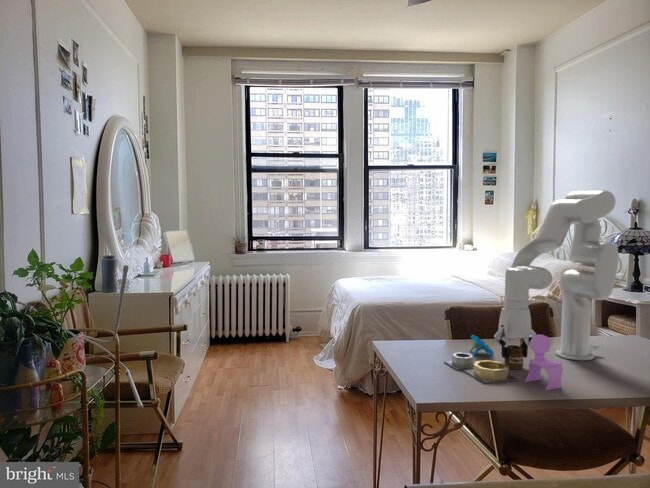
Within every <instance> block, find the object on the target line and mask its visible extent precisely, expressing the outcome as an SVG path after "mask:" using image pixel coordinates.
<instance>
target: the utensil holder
mask: <svg viewBox="0 0 650 488" xmlns="http://www.w3.org/2000/svg"><path fill="white" fill-rule="evenodd" d="M511 340H512V341H513V340H514V339H511ZM523 340H524V338H522V339H519V341H520V343H519V345H514V344H509V345H508V347H509V359H505V358H504V364H506V365H508V366H509V370H515V371H517V370H522V369H523V367H524V357H523V353H522V351H523V350H522V347H521V344H522V342H523Z"/></svg>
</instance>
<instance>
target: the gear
mask: <svg viewBox="0 0 650 488" xmlns="http://www.w3.org/2000/svg"><path fill="white" fill-rule="evenodd" d="M470 338H471V340H472V341H473V342H472V348H470V350H469V352H470V353H471V352H472V351H474V352H472V355H473V356H474V357H475V356H476V355H477V354H478V352H479V351H483V350H484V352H485V353H486V354H489V356H493V355H495V352H494V350H493V349H492V348H490V346H489V345H488V344H486V342H485V341H484V340H483V339H480V337H479V336H476V335H475V334H472V335H470Z"/></svg>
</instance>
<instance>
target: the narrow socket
mask: <svg viewBox="0 0 650 488" xmlns="http://www.w3.org/2000/svg"><path fill="white" fill-rule="evenodd" d="M474 358H475V356H474V355H473V354H471V353H468V352H454V353H452V354H451V360H444V364H446V365H447V366H449V367H450V368H452V369H453V370H455V371H457V372H458V371H459V372H460V371H464V370H471V369H474V364H475V362H474Z"/></svg>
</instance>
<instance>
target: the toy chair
mask: <svg viewBox="0 0 650 488" xmlns="http://www.w3.org/2000/svg"><path fill="white" fill-rule="evenodd" d="M551 345H552V340H551V338H550V337H548V336H546V335H544V334H536V335H535V336H534V337H533V338H532V339H531V341H530V345H529V347H530V349H531V350H532V351H533V352H534V358H532V359H529V363H528V373H527V374H528V375H527V376H526V378H525V380H524V382H525V383H528V382H533V381H539V380H541V379H542V378H541V371H542V369H544V370H545V371H546V374H547V376H548V383H547V386H546V387H545V389H544V391H551V390H554V389H555V390H556V389H561V388H562V374H563V369H564V368H563V366H562V365H563V363H562V362H559V361H555V360H553V359H550V358H548V357H545V354H546V353H547V352H549V351H550V348H551Z"/></svg>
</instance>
